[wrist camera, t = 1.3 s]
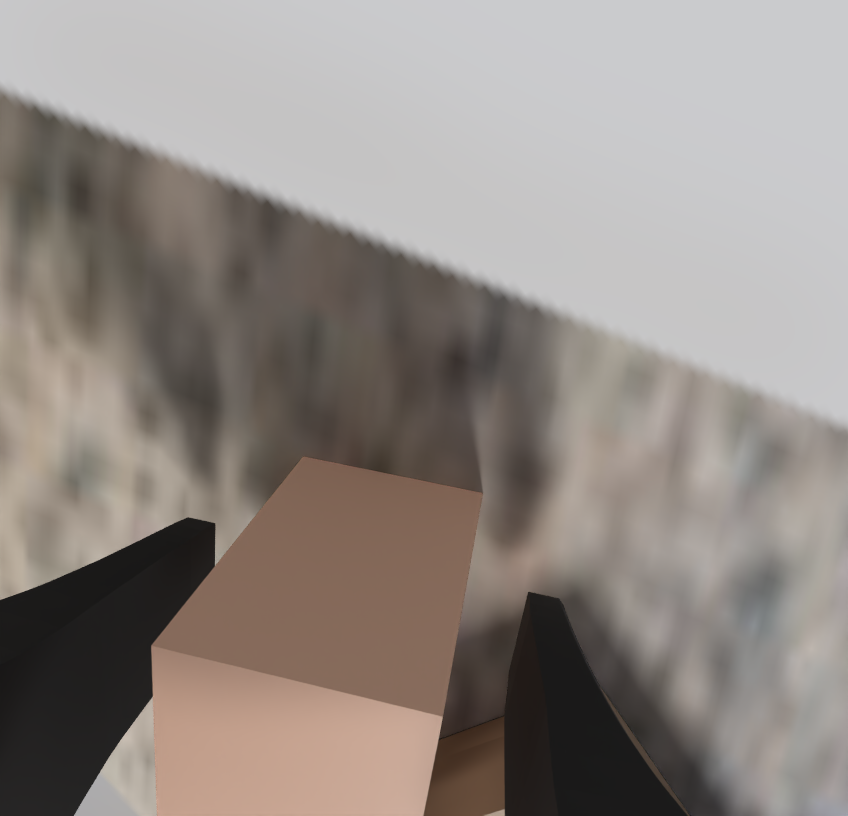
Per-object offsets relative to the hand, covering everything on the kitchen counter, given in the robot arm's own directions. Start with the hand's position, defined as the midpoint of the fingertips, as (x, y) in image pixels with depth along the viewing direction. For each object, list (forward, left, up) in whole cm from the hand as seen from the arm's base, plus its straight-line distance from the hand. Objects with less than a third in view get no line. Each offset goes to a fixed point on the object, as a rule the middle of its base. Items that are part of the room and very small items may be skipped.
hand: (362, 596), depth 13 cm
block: (0, 0, -2) cm, 2 cm away
